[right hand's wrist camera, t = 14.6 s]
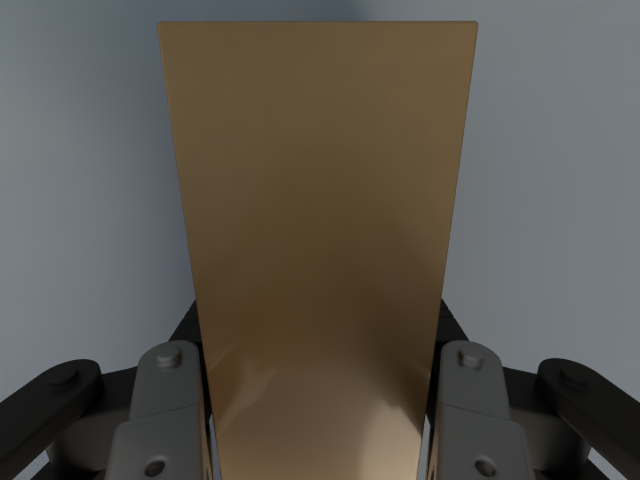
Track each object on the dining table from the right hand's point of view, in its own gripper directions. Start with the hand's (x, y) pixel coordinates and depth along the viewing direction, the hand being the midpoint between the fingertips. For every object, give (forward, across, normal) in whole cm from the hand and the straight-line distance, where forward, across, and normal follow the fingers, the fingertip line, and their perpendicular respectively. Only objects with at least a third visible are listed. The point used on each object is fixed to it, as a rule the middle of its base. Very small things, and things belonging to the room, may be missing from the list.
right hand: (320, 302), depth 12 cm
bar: (+2, 0, -31) cm, 31 cm away
